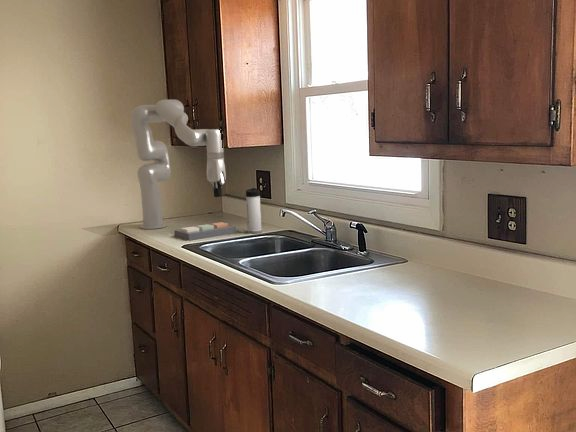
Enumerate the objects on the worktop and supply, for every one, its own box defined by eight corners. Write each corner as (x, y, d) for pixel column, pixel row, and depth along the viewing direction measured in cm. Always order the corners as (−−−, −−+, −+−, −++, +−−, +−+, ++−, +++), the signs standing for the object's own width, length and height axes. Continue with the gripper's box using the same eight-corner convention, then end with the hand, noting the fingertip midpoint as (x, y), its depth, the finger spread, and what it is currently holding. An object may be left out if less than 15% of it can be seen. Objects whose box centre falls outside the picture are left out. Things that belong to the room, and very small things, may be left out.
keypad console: (174, 236, 295) (174, 230, 295) (220, 229, 309) (219, 223, 309) (189, 240, 284) (188, 233, 284) (236, 233, 298) (235, 226, 298)
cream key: (181, 233, 292) (180, 228, 292) (193, 231, 296) (192, 226, 296) (187, 235, 288) (187, 229, 287) (199, 233, 291) (199, 227, 291)
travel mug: (262, 230, 301) (260, 187, 298) (260, 233, 295) (258, 189, 292) (249, 231, 302) (246, 188, 299) (246, 233, 295) (244, 189, 292)
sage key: (196, 231, 297) (195, 226, 297) (207, 229, 300) (207, 224, 300) (202, 232, 292) (202, 227, 292) (214, 230, 296) (213, 225, 295)
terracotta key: (210, 228, 301) (210, 223, 301) (221, 227, 305) (221, 222, 305) (217, 230, 297) (217, 225, 296) (228, 228, 300) (228, 223, 300)
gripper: (200, 156, 299) (202, 196, 302) (216, 157, 288) (219, 198, 290) (214, 155, 304) (216, 194, 307) (231, 156, 292) (233, 196, 295)
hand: (218, 196), depth 298 cm, fingers closed
